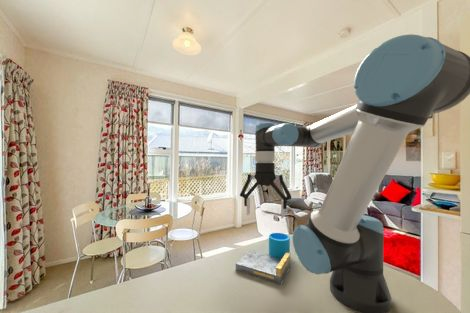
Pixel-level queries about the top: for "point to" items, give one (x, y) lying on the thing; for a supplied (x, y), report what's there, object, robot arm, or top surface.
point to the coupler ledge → (264, 266)
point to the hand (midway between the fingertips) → (265, 215)
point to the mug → (279, 244)
